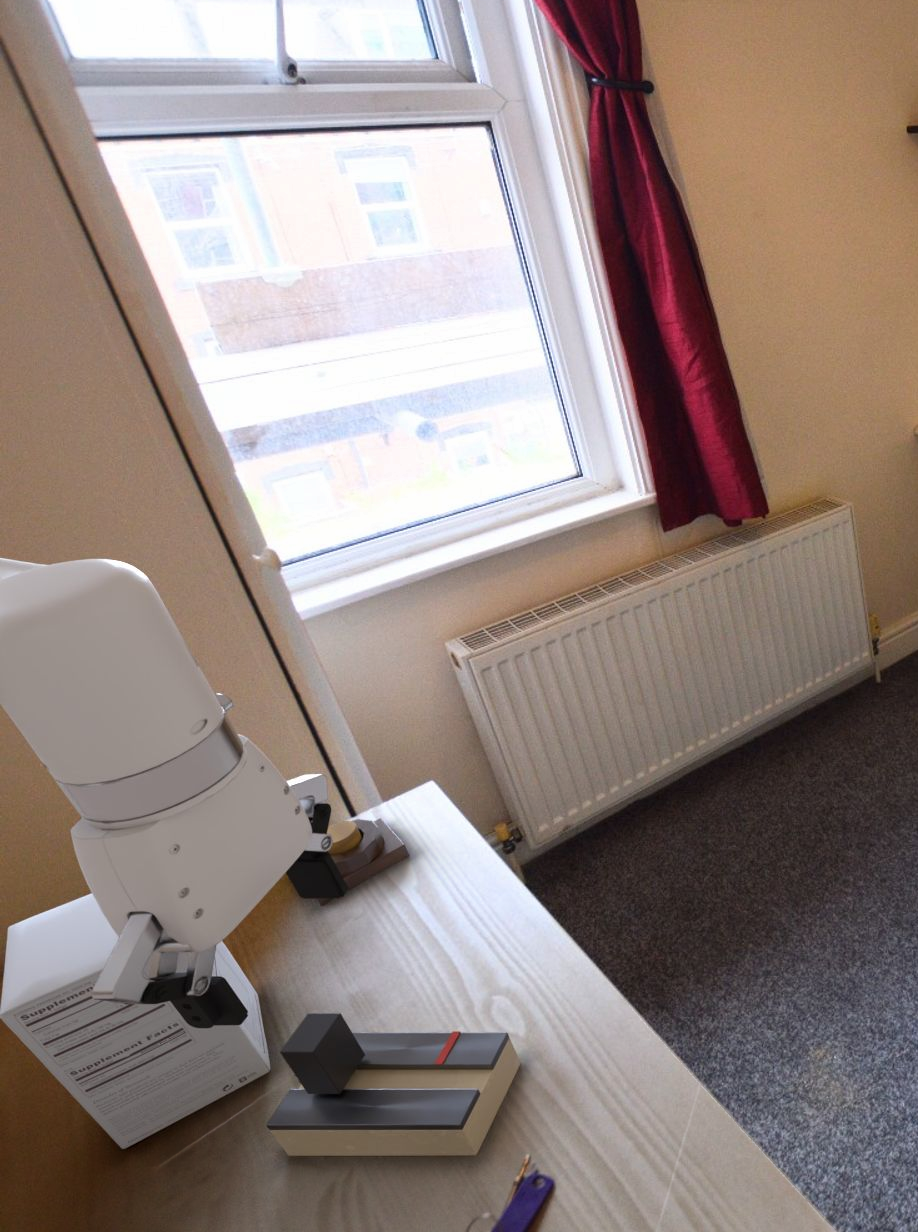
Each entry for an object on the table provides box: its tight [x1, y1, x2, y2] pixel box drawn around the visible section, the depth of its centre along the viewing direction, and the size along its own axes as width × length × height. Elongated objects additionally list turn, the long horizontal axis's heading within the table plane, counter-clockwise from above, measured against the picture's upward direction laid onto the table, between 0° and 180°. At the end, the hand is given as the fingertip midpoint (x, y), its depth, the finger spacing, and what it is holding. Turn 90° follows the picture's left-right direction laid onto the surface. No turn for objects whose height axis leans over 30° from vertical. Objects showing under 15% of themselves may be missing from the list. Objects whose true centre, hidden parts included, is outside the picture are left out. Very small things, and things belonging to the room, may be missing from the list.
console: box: [265, 1030, 521, 1157], centre depth 66 cm, size 14×7×4 cm, turn 90°
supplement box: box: [0, 892, 271, 1150], centre depth 66 cm, size 10×9×17 cm
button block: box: [314, 817, 411, 907], centre depth 87 cm, size 8×6×4 cm
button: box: [327, 820, 362, 856], centre depth 86 cm, size 3×3×2 cm
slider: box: [279, 1012, 365, 1094], centre depth 64 cm, size 2×3×6 cm
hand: (277, 953), depth 59 cm, fingers open, 9 cm apart
